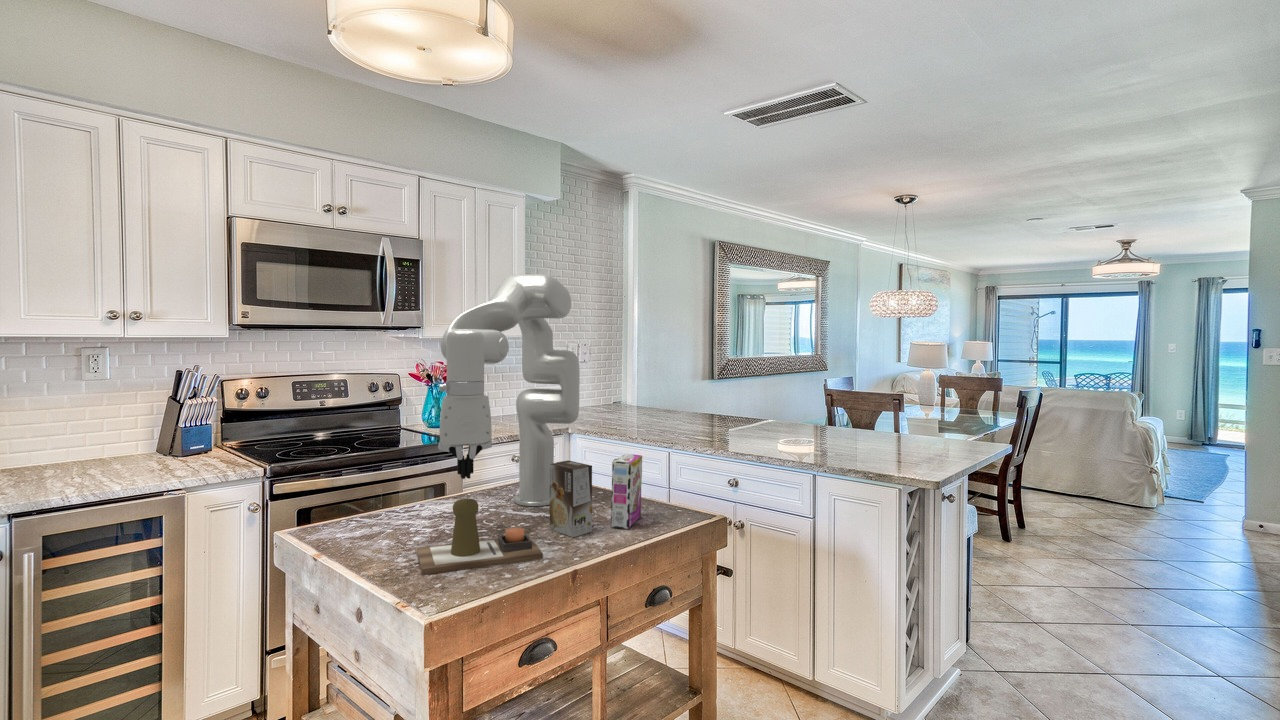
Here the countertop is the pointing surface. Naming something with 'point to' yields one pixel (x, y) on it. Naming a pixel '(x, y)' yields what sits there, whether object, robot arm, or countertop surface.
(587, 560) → the countertop surface
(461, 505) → the olive pawn
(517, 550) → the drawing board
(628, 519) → the candy bar box
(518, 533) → the button
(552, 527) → the coffee box
